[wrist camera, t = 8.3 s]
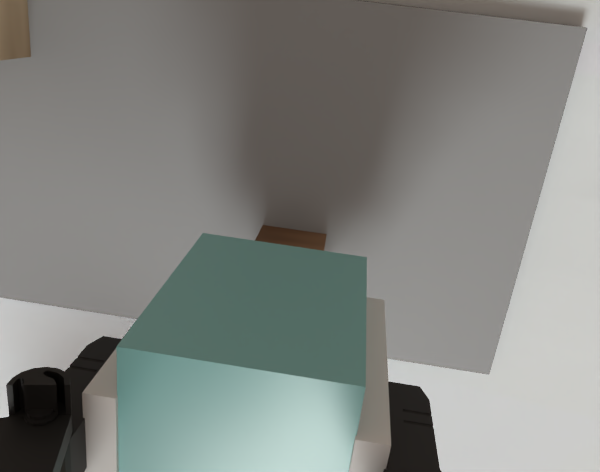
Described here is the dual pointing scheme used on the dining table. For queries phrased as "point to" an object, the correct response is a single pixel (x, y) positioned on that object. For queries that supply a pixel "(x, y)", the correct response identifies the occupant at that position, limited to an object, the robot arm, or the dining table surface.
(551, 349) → the dining table surface
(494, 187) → the stand
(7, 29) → the post beech
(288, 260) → the mint green foam cube
